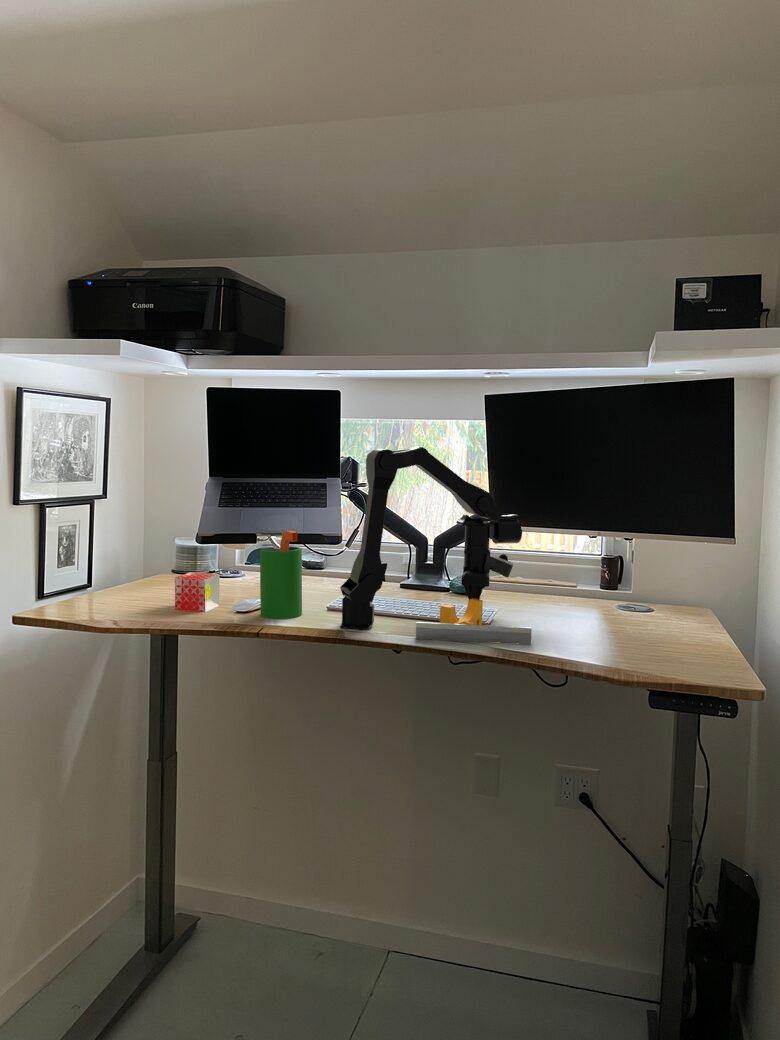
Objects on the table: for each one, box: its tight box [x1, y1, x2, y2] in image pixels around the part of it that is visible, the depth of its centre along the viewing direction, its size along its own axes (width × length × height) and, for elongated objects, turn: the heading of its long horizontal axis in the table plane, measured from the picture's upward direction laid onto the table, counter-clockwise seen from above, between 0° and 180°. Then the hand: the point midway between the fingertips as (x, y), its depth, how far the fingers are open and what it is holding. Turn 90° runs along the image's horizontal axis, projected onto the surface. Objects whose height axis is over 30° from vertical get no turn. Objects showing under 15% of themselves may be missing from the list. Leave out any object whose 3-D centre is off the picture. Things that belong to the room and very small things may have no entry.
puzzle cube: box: [174, 571, 220, 613], centre depth 193 cm, size 8×8×8 cm
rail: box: [415, 621, 533, 645], centre depth 167 cm, size 24×2×4 cm, turn 83°
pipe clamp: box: [439, 599, 484, 625], centre depth 175 cm, size 12×4×6 cm, turn 138°
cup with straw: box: [259, 530, 303, 620], centre depth 187 cm, size 10×9×20 cm
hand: (474, 609), depth 187 cm, fingers closed
